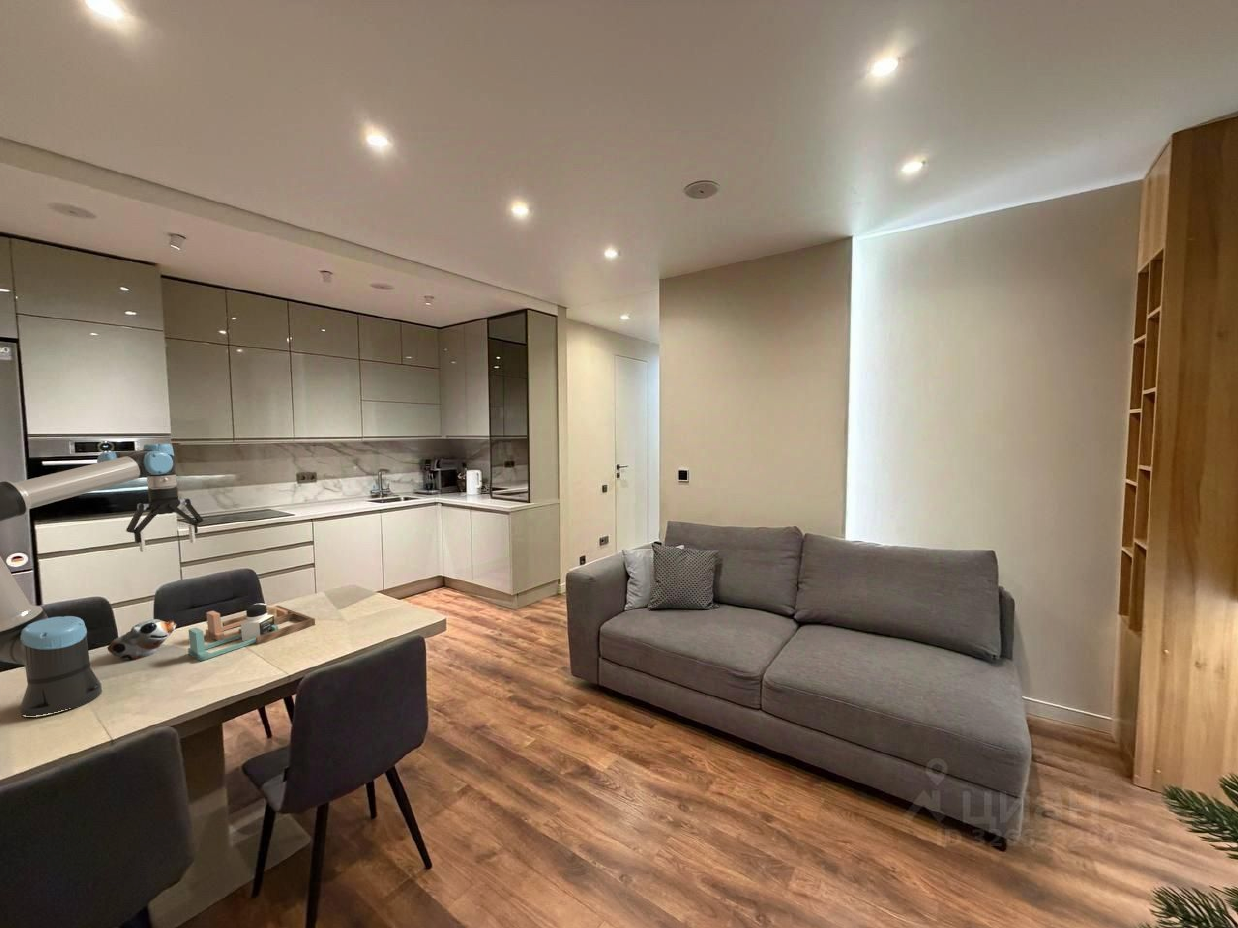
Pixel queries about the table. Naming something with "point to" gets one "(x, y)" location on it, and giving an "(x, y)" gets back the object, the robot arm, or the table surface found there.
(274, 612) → the oak cube
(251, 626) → the medicine bottle
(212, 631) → the sled
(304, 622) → the lane rails
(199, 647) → the frame
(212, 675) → the table surface
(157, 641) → the lucky cat figurine
